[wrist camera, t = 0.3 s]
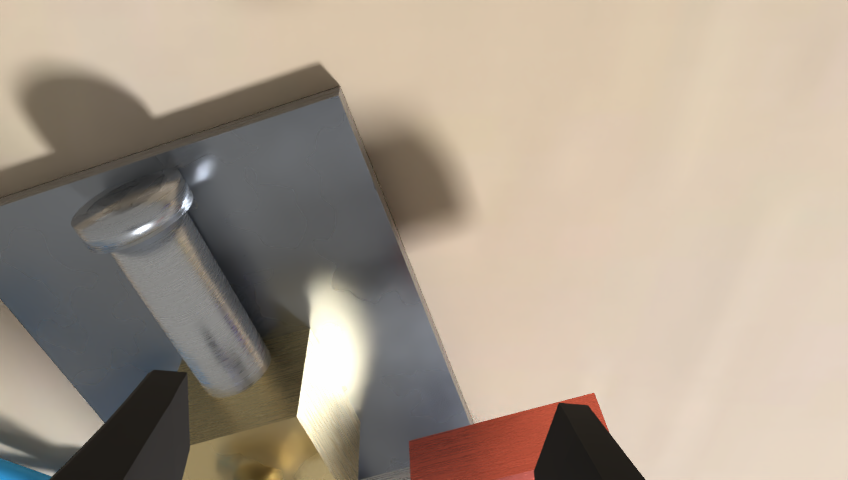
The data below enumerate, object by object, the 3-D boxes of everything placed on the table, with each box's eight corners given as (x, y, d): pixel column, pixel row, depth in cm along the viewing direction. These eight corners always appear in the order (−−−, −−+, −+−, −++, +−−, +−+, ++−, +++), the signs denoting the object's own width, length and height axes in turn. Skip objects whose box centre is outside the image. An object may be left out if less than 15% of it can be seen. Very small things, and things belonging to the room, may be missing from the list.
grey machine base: (502, 496, 29) (522, 604, 25) (237, 561, 31) (214, 673, 27) (340, 86, 19) (328, 155, 15) (-46, 213, 20) (-156, 308, 16)
